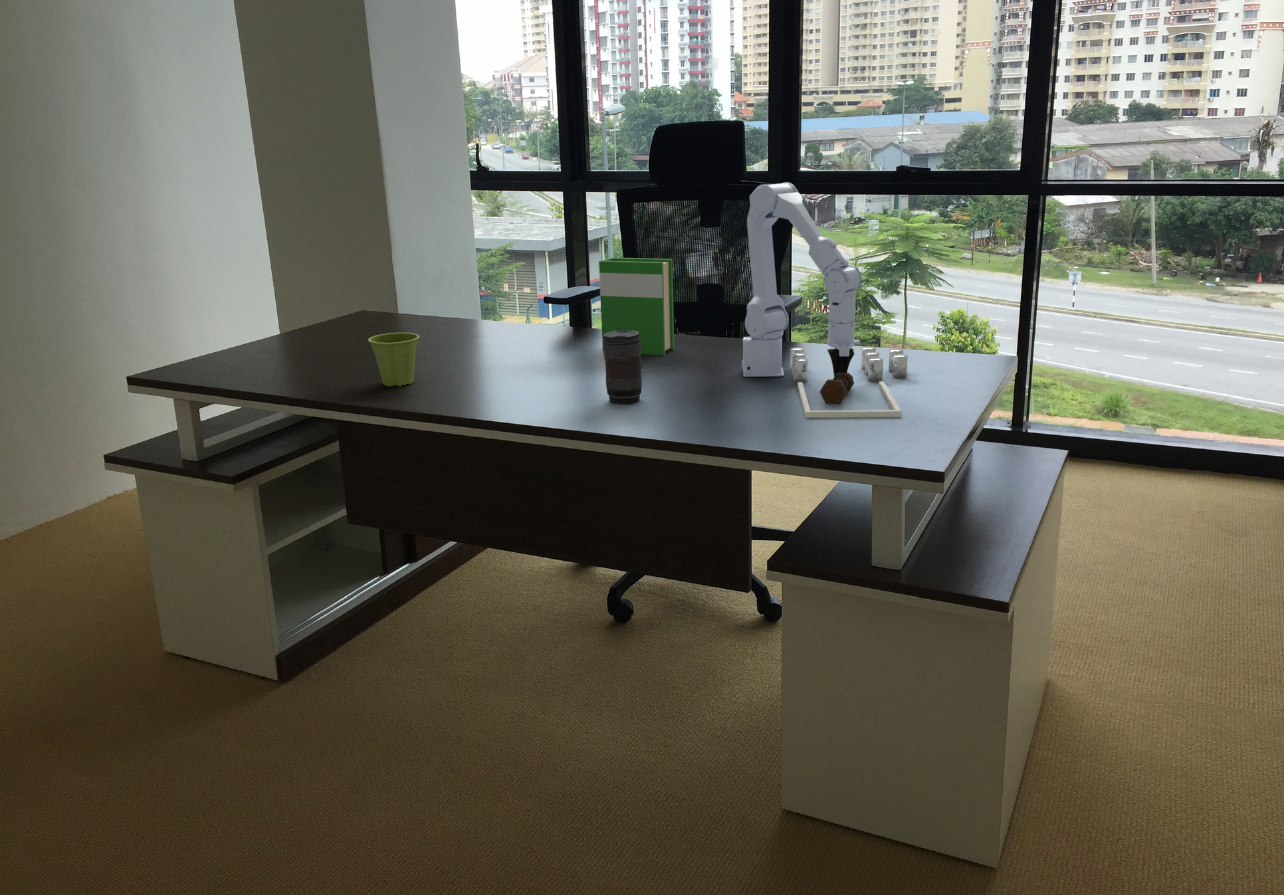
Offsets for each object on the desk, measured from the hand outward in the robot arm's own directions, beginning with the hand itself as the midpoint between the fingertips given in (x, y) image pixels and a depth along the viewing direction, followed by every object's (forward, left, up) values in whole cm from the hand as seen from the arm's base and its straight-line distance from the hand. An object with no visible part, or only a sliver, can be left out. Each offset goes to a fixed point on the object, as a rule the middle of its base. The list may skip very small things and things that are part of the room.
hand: (839, 381), depth 231 cm
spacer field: (+3, +11, -1) cm, 11 cm away
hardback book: (-49, +41, -1) cm, 64 cm away
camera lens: (-48, -11, -1) cm, 49 cm away
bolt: (-1, -9, -1) cm, 9 cm away
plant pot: (-104, +6, -1) cm, 104 cm away
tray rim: (0, -13, -1) cm, 13 cm away
